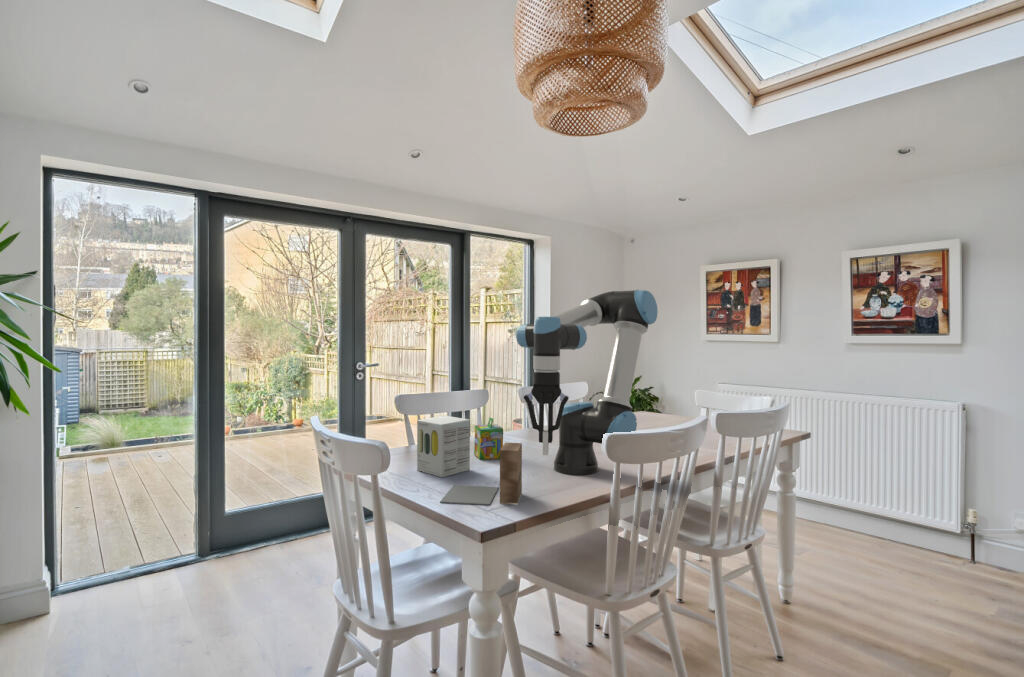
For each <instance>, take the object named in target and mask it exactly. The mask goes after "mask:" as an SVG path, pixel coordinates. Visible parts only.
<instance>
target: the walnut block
mask: <svg viewBox="0 0 1024 677" xmlns="http://www.w3.org/2000/svg"><path fill="white" fill-rule="evenodd" d="M522 461H523V443H522V442H504V443H503V446H502V448H501V449H500V459H499V505H500V504H502V505H515V506H516V505H518V504H519V502H520V498H521V496H522V495H523V494H522V492H523V491H522V489H523V488H522V487H523V486H522V485H523V483H522V482H523V480H522V477H523V475H522V474H523V473H522V471H523V470H522V469H523V468H522V467H523V466H522V465H523V462H522Z"/></svg>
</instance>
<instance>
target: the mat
mask: <svg viewBox="0 0 1024 677" xmlns="http://www.w3.org/2000/svg"><path fill="white" fill-rule="evenodd" d="M499 490H500V486H487V485H486V486H483V485H458V484H454V485H452V487H451V488H450V489H449V490H448V492H447V493H446V494H445V495H444V496H443V497H442V499H441V500H440V501H439V503H440V502H441V503H440V504H450V503H452V504H451V505H456V504H457V505H472V506H491V503H492V502H493V499H494V498H495V496H496V494H497V492H498V491H499Z"/></svg>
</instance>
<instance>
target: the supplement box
mask: <svg viewBox="0 0 1024 677" xmlns="http://www.w3.org/2000/svg"><path fill="white" fill-rule="evenodd" d="M416 434H417V435H416V436H417V438H416V439H417V440H416V443H417V445H416V448H417V449H416V450H417V451H416V453H417V454H416V456H417V458H416V470H417V471H418V472H421V471H422V473H426V474H429V475H432V474H433V476H437V477H441V478H443V477H447V476H448V477H449V476H452V475H455V474H459V473H463V472H467V471H470V468H471V466H470V465H471V463H470V461H471V456H470V455H471V454H470V452H471V451H470V450H471V447H470V446H471V420H470V419H469V418H461V417H455V416H451V415H450V416H449V415H439V416H434V417H433V416H432V417H428V418H422V419H417V420H416Z"/></svg>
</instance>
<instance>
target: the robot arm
mask: <svg viewBox="0 0 1024 677" xmlns="http://www.w3.org/2000/svg"><path fill="white" fill-rule="evenodd" d="M658 313H659V312H658V305H657V301H656V298H655V296H654V294H653V293H652V292H651V291H649V290H646V289H645V290H644V289H634V290H614V291H607V292H602V293H601V294H598V295H595V296H593V297H590V298H587V299H585V300H583V301H582V302H581V303H580V304H579V305H577V306H575V307H573V308H570V309H568V310H565V311H563V312H561V313H558V314H556V315H553V316H537V317H536V318H534V323H524V324H521V325H520V326H518V328H517V330H516V333H515V337H516V338H515V339H516V343H517V344H518V345H519V346H520V347H521V348H524V349H525V348H526V349H533V359H532V360H533V365H532V366H533V370H534V372H533V373H532V374H533V378H532V388H531V389H530V390H531V391H530V392H528V393H526V394H525V395H523V400H525V402H526V404H527V408H528V413H529V418H530V421H531V426H532V429H534V430H537V431H538V442H539V443H542V456H549V446H550V445H549V444H552V443H553V438H554V436H553V434H554V431H558V432H559V433H558V435H559V438H558V440H559V441H558V442H559V444H558V449H557V453H556V456H555V458H554V462H553V469H554V470H555V471H556V472H559V473H562V474H566V475H577V476H579V475H580V476H581V475H590V474H595V473H597V472H598V470H599V463H598V460H597V457H596V452H595V450H594V443H595V444H601V445H603V444H602V438H603V434H605V433H613V432H631V431H636V432H637V426H638V422H637V416H636V414H635V413H634V412H633V406H632V405H631V404H630V398H631V393H632V387H633V382H634V378H635V373H636V372H635V371H636V367H637V363H638V362H637V361H638V357H639V352H640V346H641V342H642V336H643V335H644V334H645V333H647V332H648V328H649V325H652V324H654V323H656V321H657V318H658ZM602 324H603V325H605V324H610V325H611V324H612V325H613V327H614V328H615V337H614V342H613V347H612V351H611V357H610V360H609V362H610V363H609V366H608V367H609V368H608V372H607V376H606V381H605V386H604V391H603V396H602V397H601V398H599V399H598V400H597V402H596V406H594V402H592V401H580V402H570V403H567V402H568V401H569V399H570V397H569V395H567V394H565V393H563V392H562V389H561V386H560V384H561V382H560V381H561V380H560V379H561V373H560V372H559V370H561V350H562V351H563V350H572V351H575V350H579V349H581V348H583V347H584V346H585V345H586V343H587V339H588V334H587V331H586V329H585V328H586V327H587V326H590V327H593V326H597V325H602ZM533 397H534V399H535V400H536V401H537V403H538V423H537V418H536V413H535V408H534V404H533V401H532V400H534V399H533ZM559 398H560V399H559ZM558 399H559V401H560V405H559V409H558V412H557V416H556V421H555V424H554V404H555V403H556V401H558ZM545 404H546V405H547V409H548V410H547V414H548V415H547V429H546V430H545V426H544V425H545Z"/></svg>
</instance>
